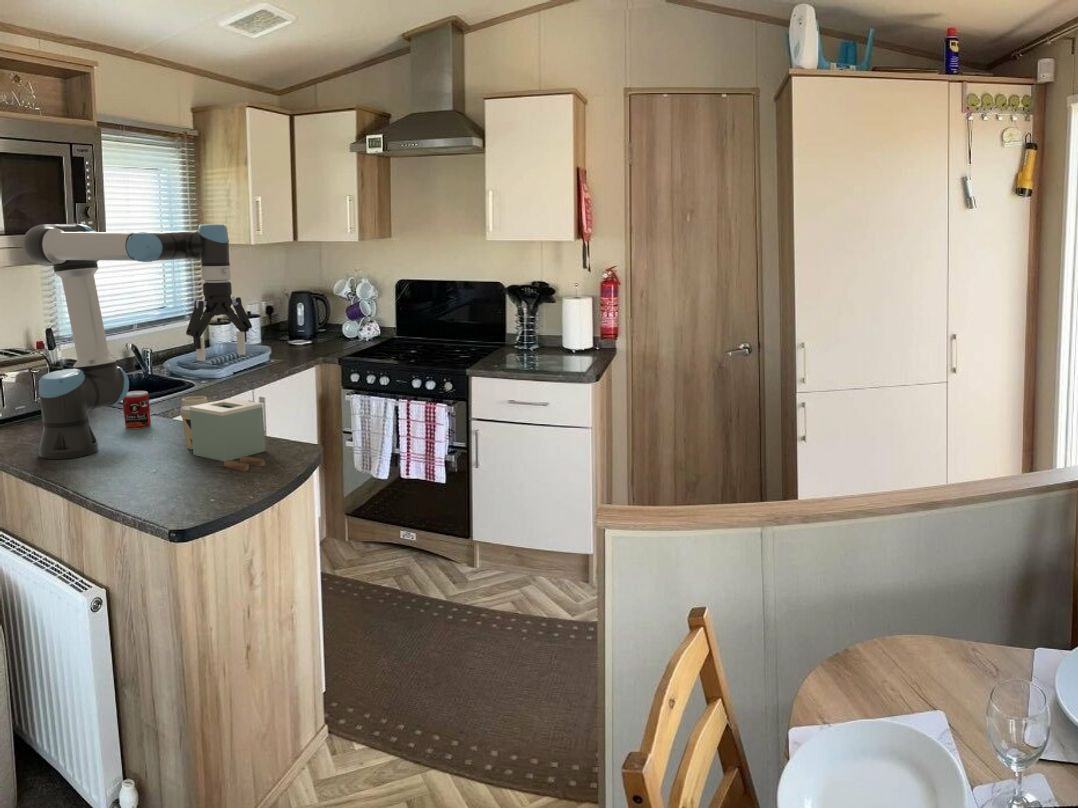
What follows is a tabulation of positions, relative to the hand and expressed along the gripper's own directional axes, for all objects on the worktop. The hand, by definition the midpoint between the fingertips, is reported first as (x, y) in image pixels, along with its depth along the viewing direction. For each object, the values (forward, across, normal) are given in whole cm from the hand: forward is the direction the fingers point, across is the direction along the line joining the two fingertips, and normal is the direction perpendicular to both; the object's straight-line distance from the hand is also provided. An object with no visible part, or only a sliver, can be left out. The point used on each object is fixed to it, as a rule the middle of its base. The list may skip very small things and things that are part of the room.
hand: (221, 357), depth 257 cm
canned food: (+28, +6, +52) cm, 60 cm away
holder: (+28, -7, -15) cm, 32 cm away
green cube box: (+28, 0, 0) cm, 28 cm away
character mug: (+28, +4, +20) cm, 34 cm away
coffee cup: (+28, 0, +13) cm, 31 cm away
